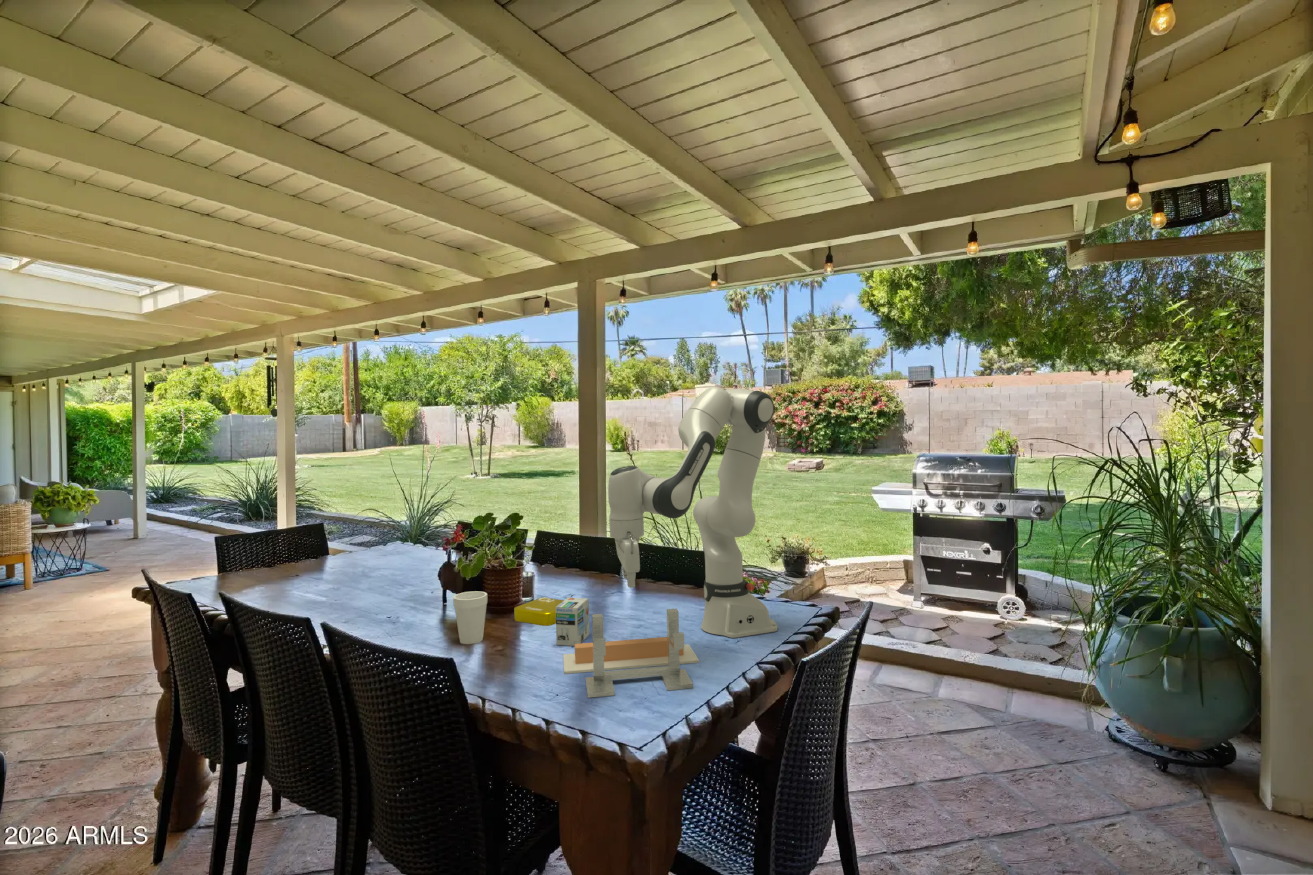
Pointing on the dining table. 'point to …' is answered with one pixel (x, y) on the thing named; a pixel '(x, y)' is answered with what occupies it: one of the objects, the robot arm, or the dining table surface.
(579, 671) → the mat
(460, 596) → the foam cup
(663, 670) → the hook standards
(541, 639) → the dining table surface
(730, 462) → the robot arm
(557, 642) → the light bulb box
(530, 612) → the element tile
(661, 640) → the rail
